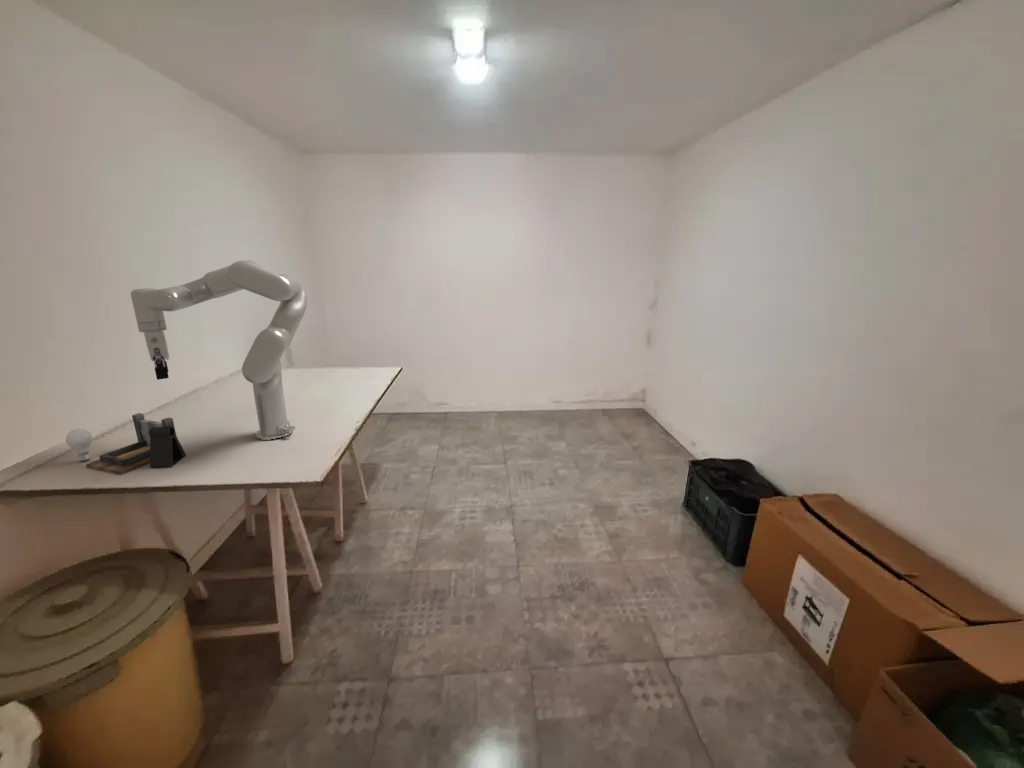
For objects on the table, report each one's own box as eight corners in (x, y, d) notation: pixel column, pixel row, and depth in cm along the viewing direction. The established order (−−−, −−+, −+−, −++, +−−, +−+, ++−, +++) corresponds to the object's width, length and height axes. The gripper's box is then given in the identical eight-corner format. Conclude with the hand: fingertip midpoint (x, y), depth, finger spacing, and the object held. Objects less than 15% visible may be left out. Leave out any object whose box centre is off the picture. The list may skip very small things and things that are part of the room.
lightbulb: (71, 460, 153) (62, 429, 150) (97, 454, 157) (88, 424, 154) (72, 466, 148) (63, 434, 145) (98, 460, 153) (90, 429, 150)
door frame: (179, 451, 160) (172, 418, 157) (121, 474, 143) (112, 438, 140) (146, 445, 165) (139, 413, 162) (86, 467, 148) (77, 431, 145)
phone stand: (170, 467, 148) (162, 432, 144) (149, 468, 147) (141, 433, 144) (186, 455, 156) (179, 422, 153) (167, 456, 156) (159, 423, 152)
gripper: (166, 328, 151) (176, 379, 156) (165, 322, 165) (175, 369, 170) (136, 330, 147) (148, 383, 152) (139, 324, 161) (150, 372, 165)
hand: (163, 375), depth 161 cm, fingers open, 9 cm apart
